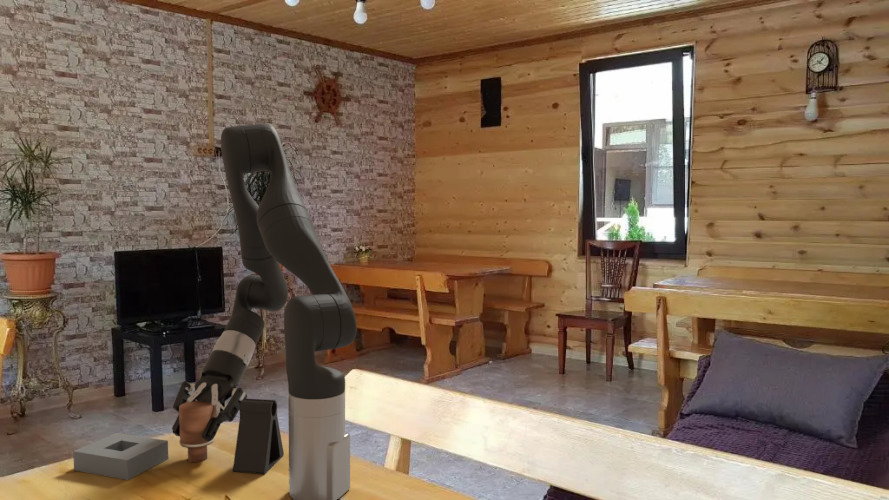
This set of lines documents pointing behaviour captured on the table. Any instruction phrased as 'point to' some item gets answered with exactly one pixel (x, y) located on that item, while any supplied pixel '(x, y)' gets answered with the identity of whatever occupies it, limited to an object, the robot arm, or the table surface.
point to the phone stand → (257, 437)
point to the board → (120, 455)
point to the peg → (195, 428)
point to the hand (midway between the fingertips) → (191, 436)
